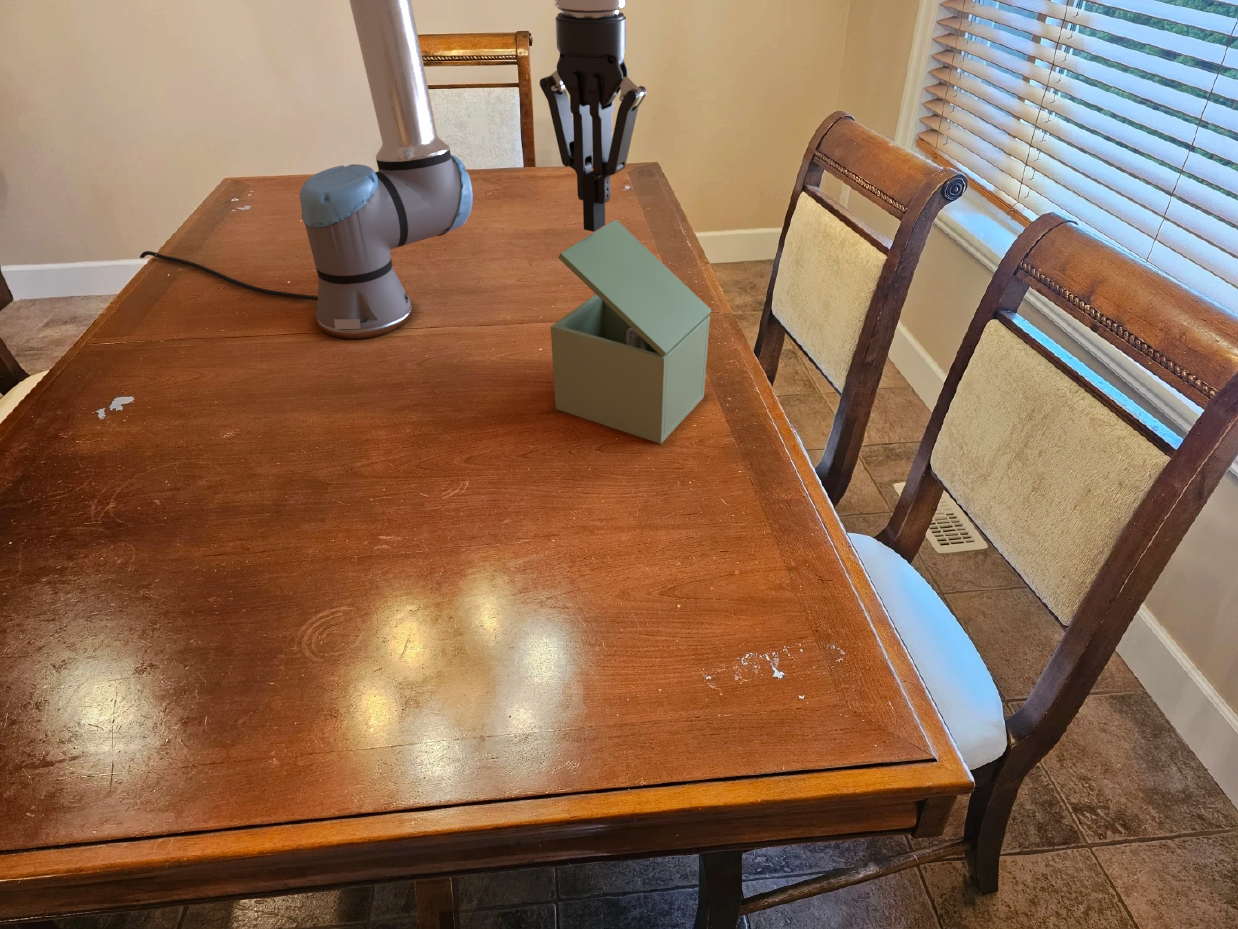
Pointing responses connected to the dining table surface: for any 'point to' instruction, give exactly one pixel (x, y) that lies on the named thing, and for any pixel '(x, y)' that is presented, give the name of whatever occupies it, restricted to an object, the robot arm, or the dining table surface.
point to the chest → (625, 373)
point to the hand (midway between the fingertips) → (594, 226)
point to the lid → (636, 286)
